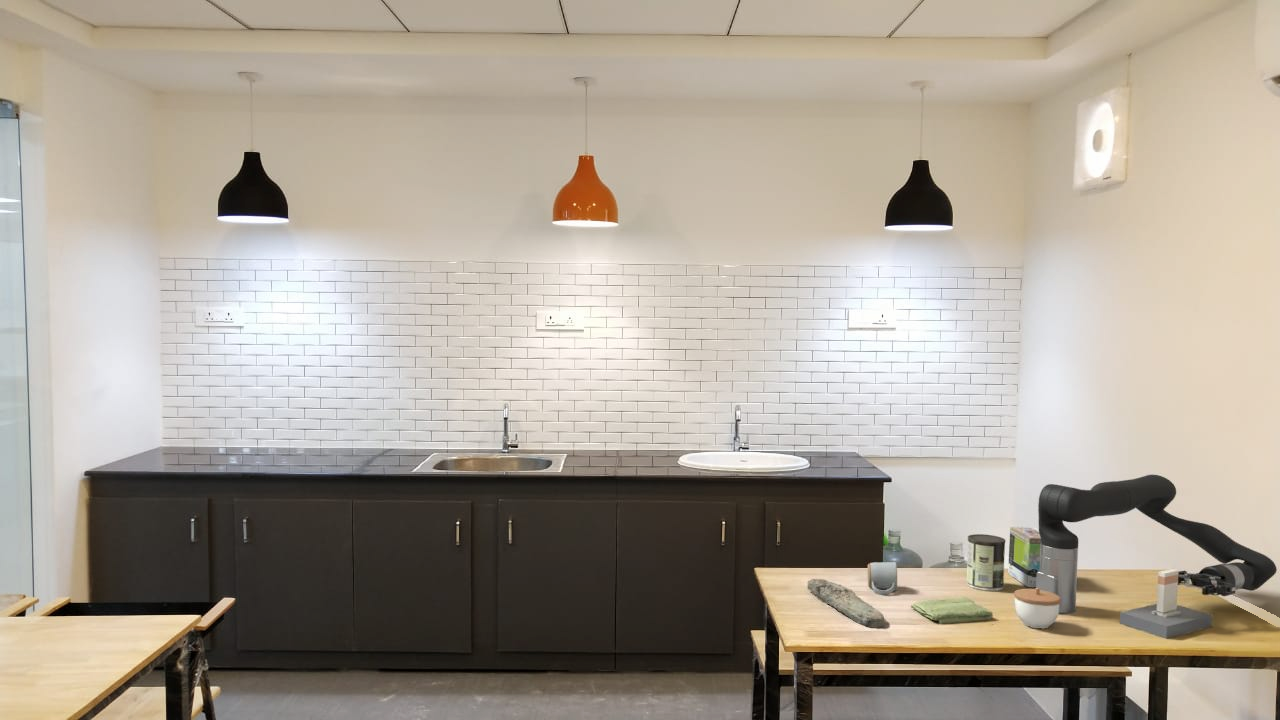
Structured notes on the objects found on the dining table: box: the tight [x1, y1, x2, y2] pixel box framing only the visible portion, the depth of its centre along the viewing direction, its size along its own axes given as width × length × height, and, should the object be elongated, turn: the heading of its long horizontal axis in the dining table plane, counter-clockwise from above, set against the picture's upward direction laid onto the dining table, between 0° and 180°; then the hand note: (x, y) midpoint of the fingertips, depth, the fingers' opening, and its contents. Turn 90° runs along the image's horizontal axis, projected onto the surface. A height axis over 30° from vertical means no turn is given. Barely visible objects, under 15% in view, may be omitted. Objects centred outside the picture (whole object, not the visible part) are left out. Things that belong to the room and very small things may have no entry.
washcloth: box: [910, 596, 994, 625], centre depth 240 cm, size 13×18×3 cm
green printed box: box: [1007, 526, 1041, 588], centre depth 273 cm, size 15×10×15 cm, turn 179°
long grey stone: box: [807, 578, 886, 629], centre depth 245 cm, size 35×5×10 cm
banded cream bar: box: [1156, 568, 1179, 617], centre depth 235 cm, size 6×2×13 cm, turn 119°
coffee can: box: [965, 533, 1006, 592], centre depth 266 cm, size 10×10×14 cm
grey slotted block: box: [1119, 603, 1213, 639], centre depth 235 cm, size 20×12×4 cm, turn 120°
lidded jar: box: [1013, 587, 1060, 630], centre depth 233 cm, size 11×11×9 cm
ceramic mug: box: [867, 561, 898, 596], centre depth 261 cm, size 11×8×8 cm
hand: (1186, 586), depth 238 cm, fingers open, 8 cm apart
